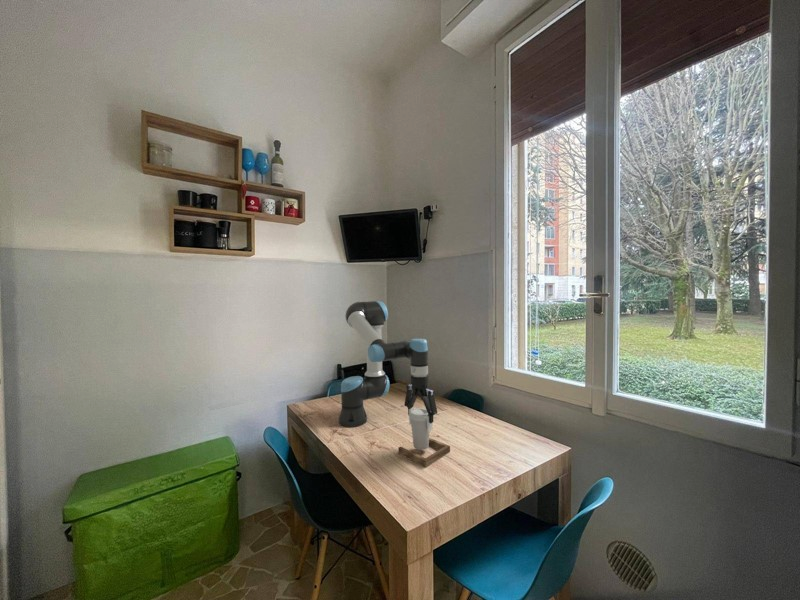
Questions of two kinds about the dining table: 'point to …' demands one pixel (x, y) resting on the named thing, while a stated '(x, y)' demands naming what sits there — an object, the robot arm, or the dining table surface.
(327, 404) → the dining table surface
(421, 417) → the coffee cup
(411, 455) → the bracket
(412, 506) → the dining table surface
